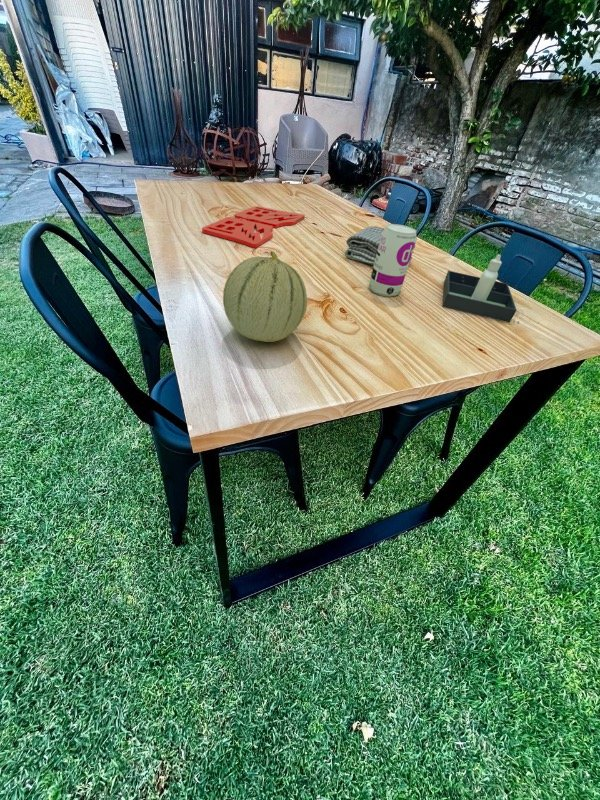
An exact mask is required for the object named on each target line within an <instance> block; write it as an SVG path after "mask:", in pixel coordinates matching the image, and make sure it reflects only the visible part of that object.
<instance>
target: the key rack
mask: <svg viewBox="0 0 600 800" xmlns="http://www.w3.org/2000/svg"><path fill="white" fill-rule="evenodd" d="M480 277H481V276H475V275H469V274H465V273H461V272H457V271H452V270H447V273H446V275H445V278H444V281H443V288H442V289H443V290H442V308H447V309H450V310H455V311H459V312H463V313H467V314H472V315H475V316H479V317H485V318H489V319H493V320H496V321H501V322H505V323H508V324H509V323H511V321H512V320H513V318H514V316H515V314H516V312H517V311H518V309H517V306H516V304H515V301H514V299H513V295H512V291H511V289H510V287H509V284H508V283H506V282H503V281H502V282H501V281H498V280H496V281H495V283H494V285H493V287H492V289H491V291H490V293H489V295H488V297H487V299H486V301H485V302H482V301H478V300H474V299H471V297H472V295H473V293H474V290H475V288H476V286H477V284H478V282H479V280H480Z"/></svg>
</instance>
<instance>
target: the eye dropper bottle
mask: <svg viewBox="0 0 600 800" xmlns="http://www.w3.org/2000/svg"><path fill="white" fill-rule="evenodd" d="M501 257H502V255H501V254H497V255H496V257H494V258H492V259H491V260H490V261H489V264H488V266H487V268H486V269H485V270H484V271H483V272H482V274H481V276H479V277H480V280H479V282H478V284H477V286H476V288H475V290H474V293H473V295H472V297H471V299H474V300H478V301H482V302H485V301H486V299H487V297H488V295H489V293H490V291H491V289H492V287H493V285H494V283H495V281H497V278H498V277H499V273H498V271H499V269H500V267H501V266H502V264H503V262H502V261H501Z"/></svg>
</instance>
